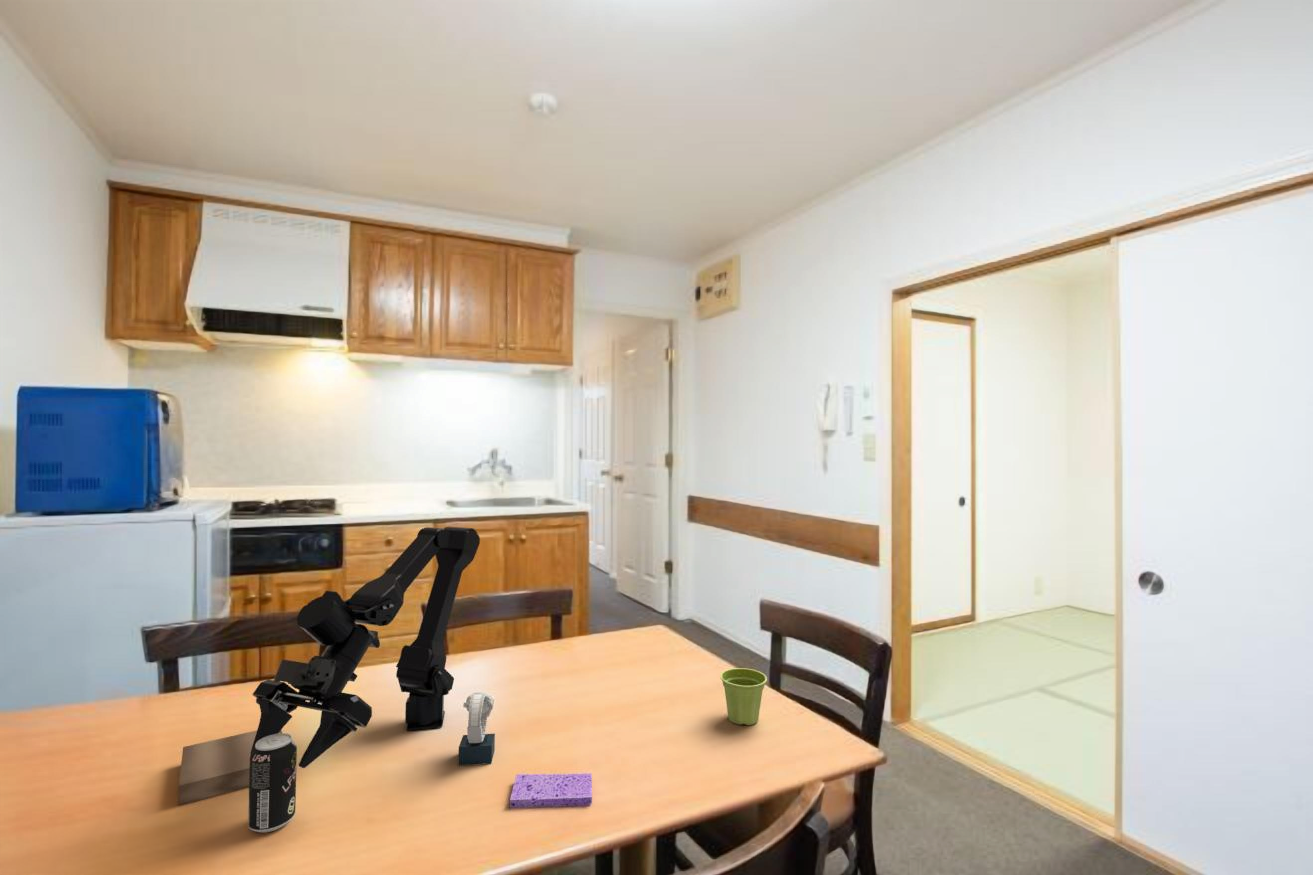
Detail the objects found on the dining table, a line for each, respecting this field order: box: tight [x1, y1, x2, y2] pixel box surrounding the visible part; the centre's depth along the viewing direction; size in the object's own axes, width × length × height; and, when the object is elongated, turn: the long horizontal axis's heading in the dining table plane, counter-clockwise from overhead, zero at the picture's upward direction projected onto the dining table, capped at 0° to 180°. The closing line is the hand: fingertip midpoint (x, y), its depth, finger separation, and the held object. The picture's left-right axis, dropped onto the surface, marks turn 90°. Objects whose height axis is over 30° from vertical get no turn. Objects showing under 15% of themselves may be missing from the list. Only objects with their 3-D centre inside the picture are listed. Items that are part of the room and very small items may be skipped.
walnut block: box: [177, 729, 283, 807], centre depth 100 cm, size 14×14×3 cm
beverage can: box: [247, 732, 298, 834], centre depth 86 cm, size 6×6×12 cm
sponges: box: [509, 772, 593, 809], centre depth 95 cm, size 7×13×2 cm, turn 95°
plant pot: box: [719, 667, 768, 726], centre depth 122 cm, size 9×9×9 cm
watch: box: [457, 691, 496, 766], centre depth 105 cm, size 6×8×11 cm
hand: (276, 761), depth 87 cm, fingers open, 9 cm apart
